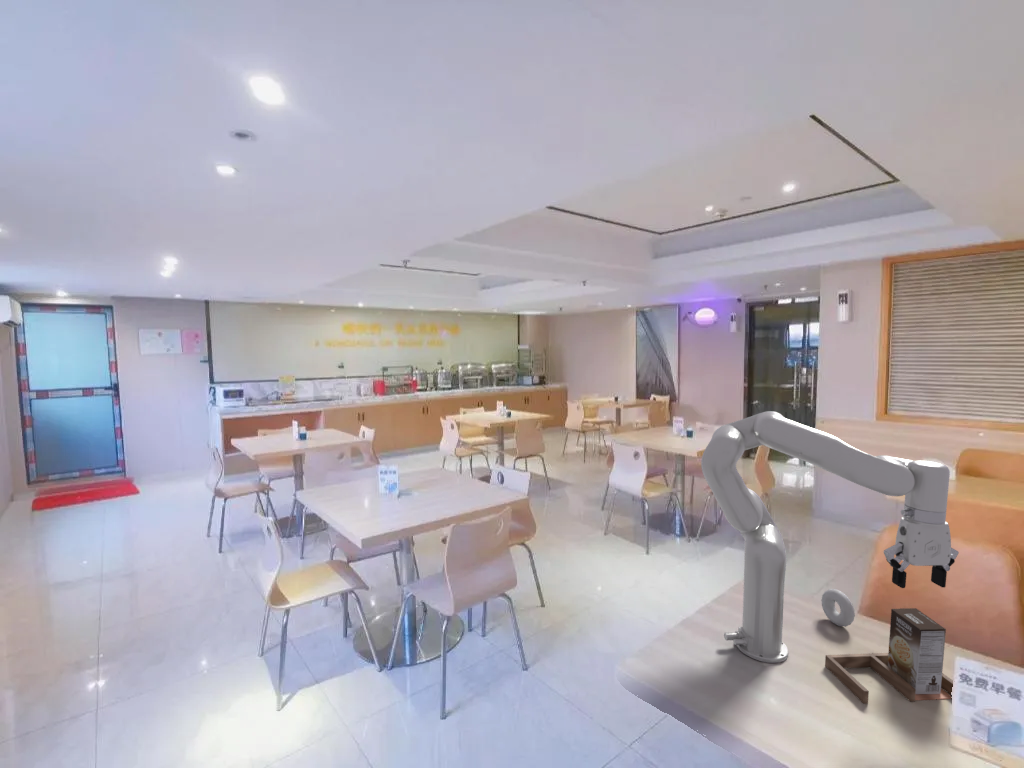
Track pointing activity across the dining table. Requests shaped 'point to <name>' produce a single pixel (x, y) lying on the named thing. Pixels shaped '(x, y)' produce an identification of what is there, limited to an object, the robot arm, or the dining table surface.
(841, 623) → the donut
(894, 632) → the coffee box
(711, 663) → the dining table surface
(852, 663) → the rack
